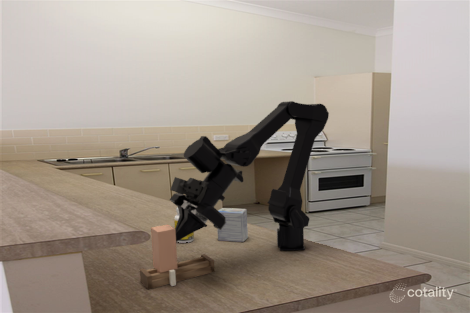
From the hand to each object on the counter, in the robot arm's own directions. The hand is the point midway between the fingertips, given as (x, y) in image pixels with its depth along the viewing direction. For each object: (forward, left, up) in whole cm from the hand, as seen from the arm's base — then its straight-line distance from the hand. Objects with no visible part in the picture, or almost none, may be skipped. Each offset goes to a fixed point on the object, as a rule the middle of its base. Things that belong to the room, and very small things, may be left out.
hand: (173, 240), depth 91 cm
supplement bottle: (+2, -26, -9) cm, 28 cm away
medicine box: (-12, -26, -9) cm, 30 cm away
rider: (+2, +1, -7) cm, 7 cm away
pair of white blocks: (+2, +1, -9) cm, 9 cm away
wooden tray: (-1, 0, -9) cm, 9 cm away
